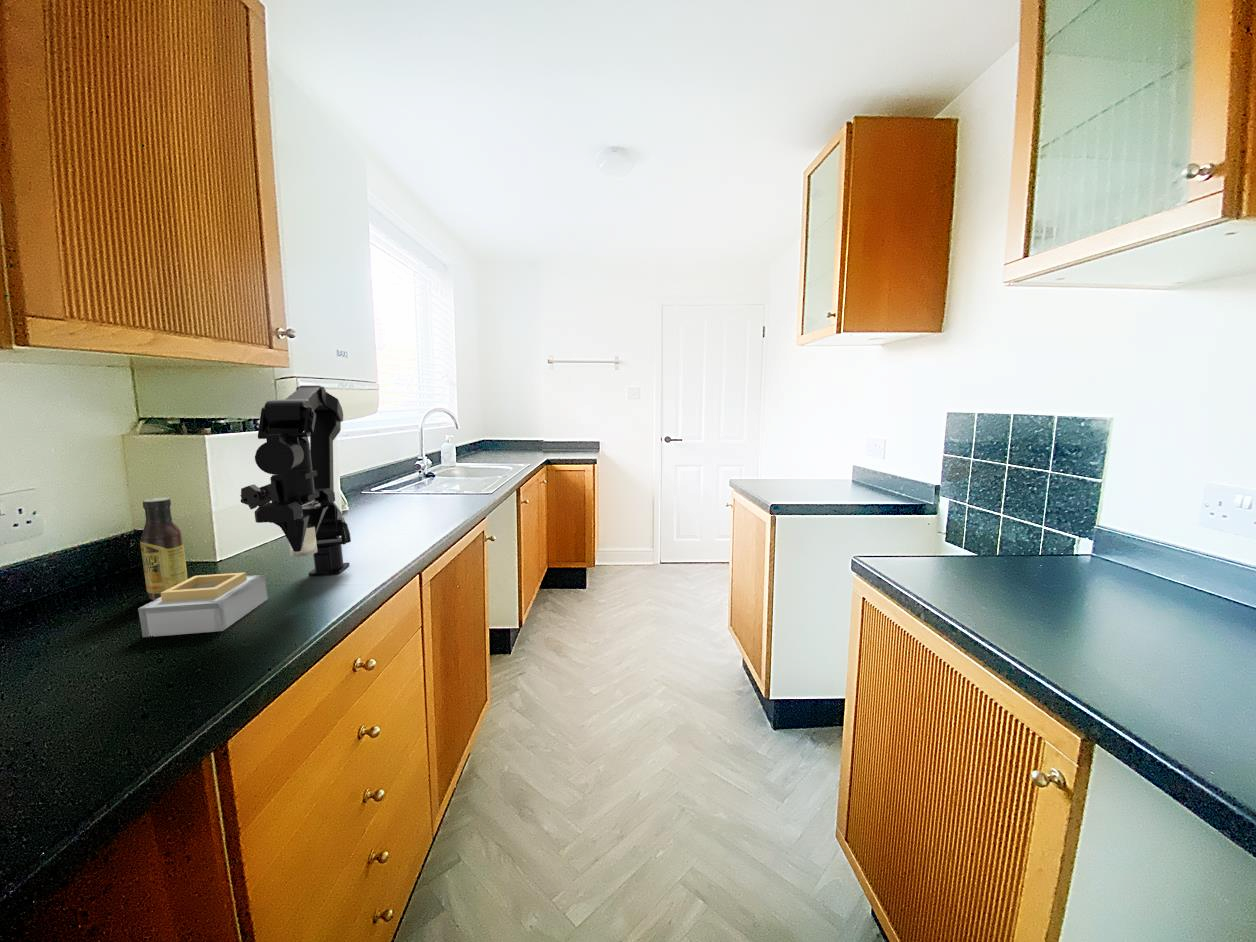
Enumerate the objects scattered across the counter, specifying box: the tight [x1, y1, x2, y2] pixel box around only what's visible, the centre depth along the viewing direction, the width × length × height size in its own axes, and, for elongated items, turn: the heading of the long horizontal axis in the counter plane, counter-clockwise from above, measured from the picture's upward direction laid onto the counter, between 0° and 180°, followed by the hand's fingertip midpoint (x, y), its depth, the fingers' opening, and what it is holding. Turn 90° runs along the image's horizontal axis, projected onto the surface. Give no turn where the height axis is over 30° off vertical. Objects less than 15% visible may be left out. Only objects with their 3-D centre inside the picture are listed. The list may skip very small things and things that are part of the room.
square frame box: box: [137, 571, 269, 638], centre depth 92 cm, size 14×12×6 cm
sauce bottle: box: [139, 497, 189, 601], centre depth 102 cm, size 6×6×20 cm
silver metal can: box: [288, 525, 317, 558], centre depth 99 cm, size 4×4×5 cm
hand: (303, 547), depth 99 cm, fingers closed on silver metal can, 4 cm apart
